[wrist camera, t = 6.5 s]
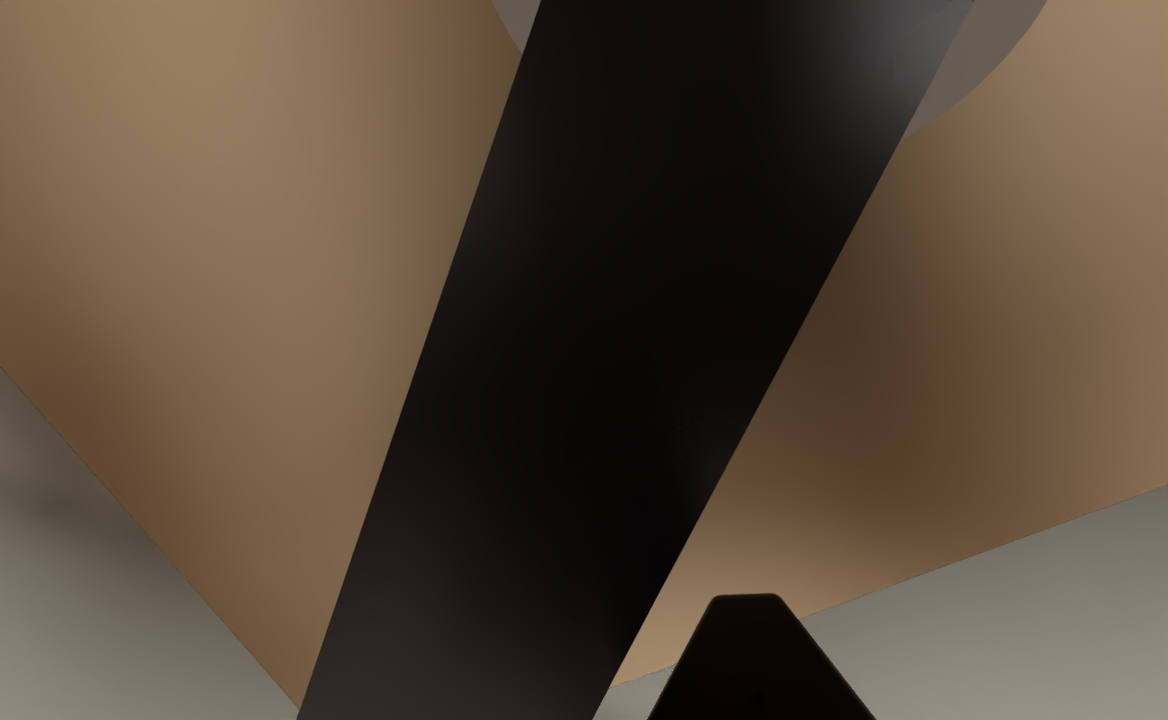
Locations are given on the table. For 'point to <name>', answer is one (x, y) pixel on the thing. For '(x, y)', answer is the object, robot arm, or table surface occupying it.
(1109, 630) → the table surface
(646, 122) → the peg knob
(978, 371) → the tuner board
